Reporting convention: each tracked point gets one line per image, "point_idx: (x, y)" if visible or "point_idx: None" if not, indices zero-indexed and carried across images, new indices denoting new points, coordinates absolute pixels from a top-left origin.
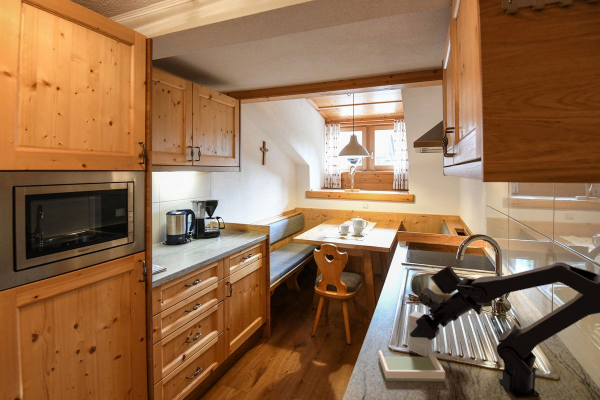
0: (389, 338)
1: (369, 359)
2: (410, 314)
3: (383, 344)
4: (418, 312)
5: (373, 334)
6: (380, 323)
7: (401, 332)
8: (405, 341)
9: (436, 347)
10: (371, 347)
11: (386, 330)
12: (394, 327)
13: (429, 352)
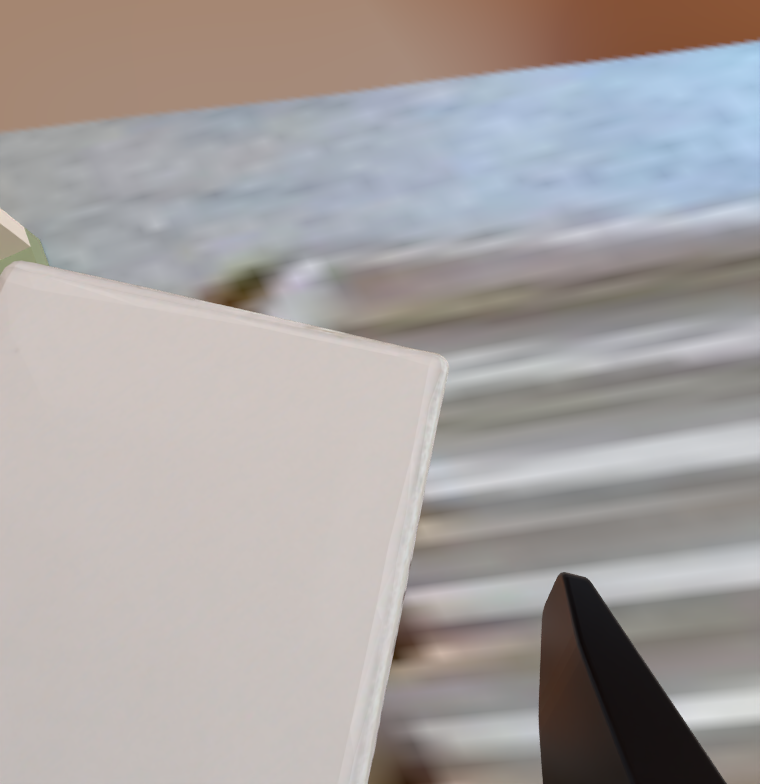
0: (436, 238)
1: (12, 179)
2: (67, 287)
3: (297, 217)
4: (375, 538)
5: (435, 96)
6: (695, 92)
7: (630, 317)
8: (458, 392)
9: (504, 751)
10: (201, 143)
11: (582, 176)
12: (697, 230)
13: None
